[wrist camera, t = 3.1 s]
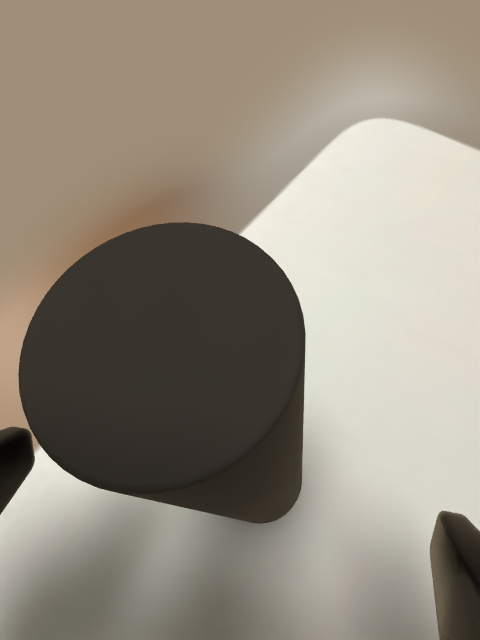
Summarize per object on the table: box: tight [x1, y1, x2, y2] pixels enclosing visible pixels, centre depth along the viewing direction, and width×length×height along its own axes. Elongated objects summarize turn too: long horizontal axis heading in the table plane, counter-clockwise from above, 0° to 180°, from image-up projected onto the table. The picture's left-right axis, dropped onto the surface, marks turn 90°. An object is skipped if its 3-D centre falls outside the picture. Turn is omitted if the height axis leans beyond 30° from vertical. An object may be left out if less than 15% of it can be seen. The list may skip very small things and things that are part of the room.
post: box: [19, 223, 305, 523], centre depth 11 cm, size 4×4×14 cm
